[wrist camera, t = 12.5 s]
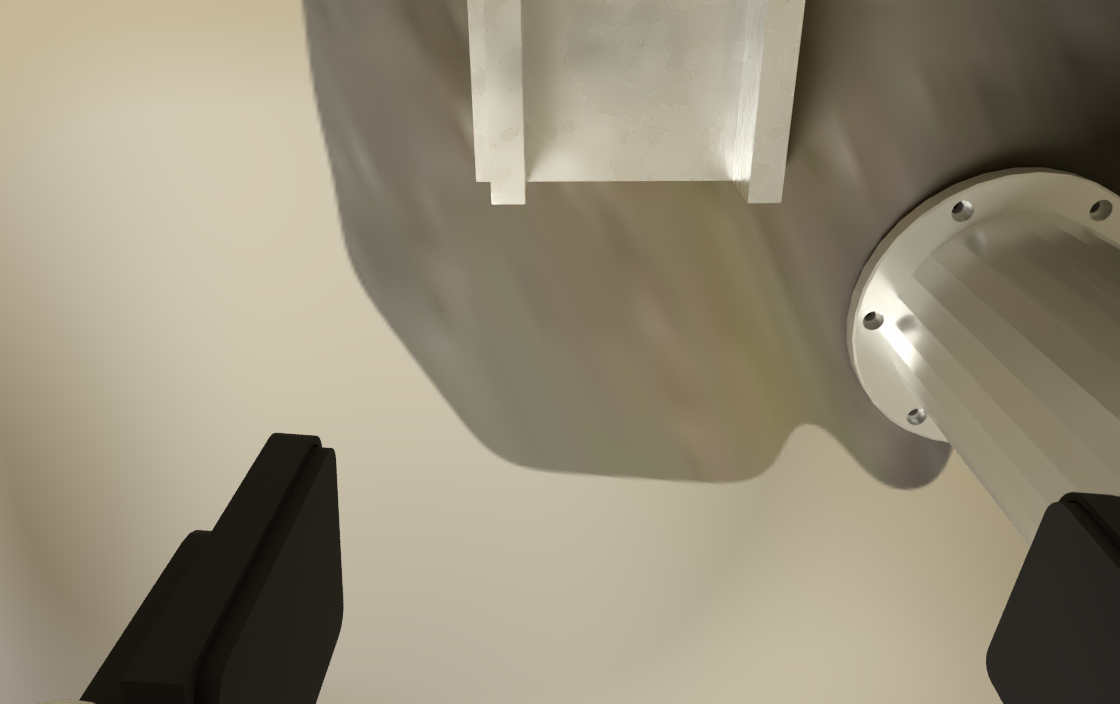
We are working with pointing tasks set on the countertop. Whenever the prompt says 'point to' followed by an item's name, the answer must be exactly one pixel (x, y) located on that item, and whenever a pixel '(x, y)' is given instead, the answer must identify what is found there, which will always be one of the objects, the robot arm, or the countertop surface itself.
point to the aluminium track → (633, 92)
